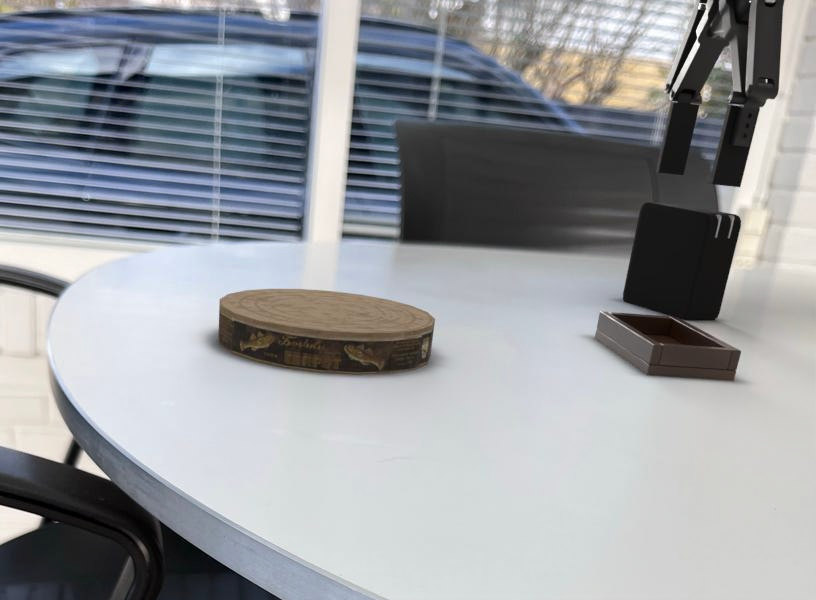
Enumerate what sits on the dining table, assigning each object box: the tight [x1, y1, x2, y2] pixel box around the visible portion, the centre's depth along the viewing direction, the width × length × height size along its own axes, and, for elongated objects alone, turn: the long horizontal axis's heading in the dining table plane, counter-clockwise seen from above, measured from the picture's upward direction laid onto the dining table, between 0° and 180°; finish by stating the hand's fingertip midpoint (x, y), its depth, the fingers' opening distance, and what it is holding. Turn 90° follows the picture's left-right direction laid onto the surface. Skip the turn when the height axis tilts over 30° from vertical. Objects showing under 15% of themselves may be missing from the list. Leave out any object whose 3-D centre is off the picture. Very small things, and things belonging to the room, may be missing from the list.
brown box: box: [594, 310, 742, 382], centre depth 86 cm, size 7×13×2 cm, turn 5°
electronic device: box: [622, 201, 742, 321], centre depth 107 cm, size 4×10×10 cm, turn 26°
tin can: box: [217, 288, 436, 376], centre depth 78 cm, size 16×16×3 cm
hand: (695, 179), depth 103 cm, fingers open, 13 cm apart
